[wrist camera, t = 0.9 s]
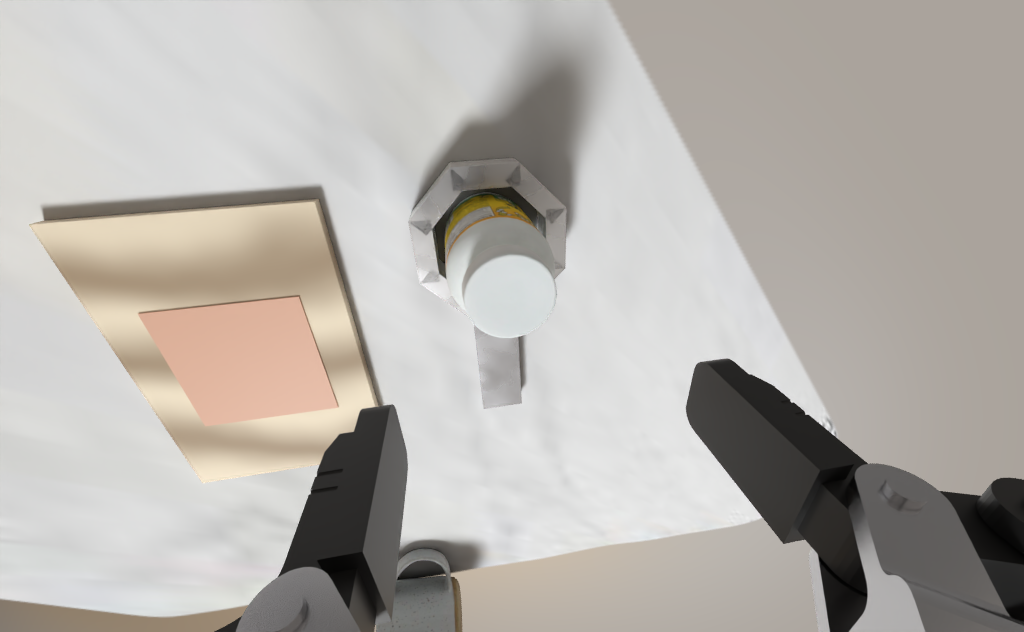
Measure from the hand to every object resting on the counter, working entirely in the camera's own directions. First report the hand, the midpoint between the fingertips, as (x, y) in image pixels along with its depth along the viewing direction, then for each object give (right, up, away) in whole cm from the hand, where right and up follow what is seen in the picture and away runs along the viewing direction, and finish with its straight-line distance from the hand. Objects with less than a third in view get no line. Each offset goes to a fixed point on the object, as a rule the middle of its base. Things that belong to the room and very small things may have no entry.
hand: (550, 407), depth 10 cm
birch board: (-19, 0, +16) cm, 24 cm away
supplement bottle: (-3, +8, +14) cm, 17 cm away
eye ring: (-2, +4, +16) cm, 17 cm away
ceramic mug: (-11, -26, +31) cm, 42 cm away
